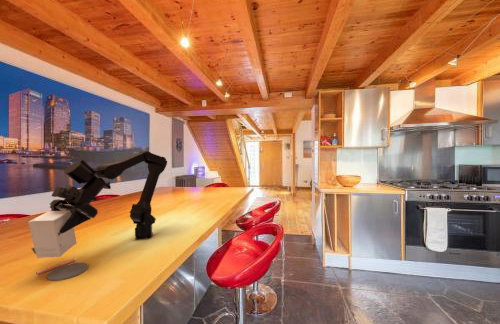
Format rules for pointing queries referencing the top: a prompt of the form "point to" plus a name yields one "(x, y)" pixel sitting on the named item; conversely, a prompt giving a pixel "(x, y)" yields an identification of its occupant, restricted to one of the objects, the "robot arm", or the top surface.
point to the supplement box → (51, 234)
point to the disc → (67, 271)
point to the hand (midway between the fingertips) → (52, 230)
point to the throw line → (55, 267)
